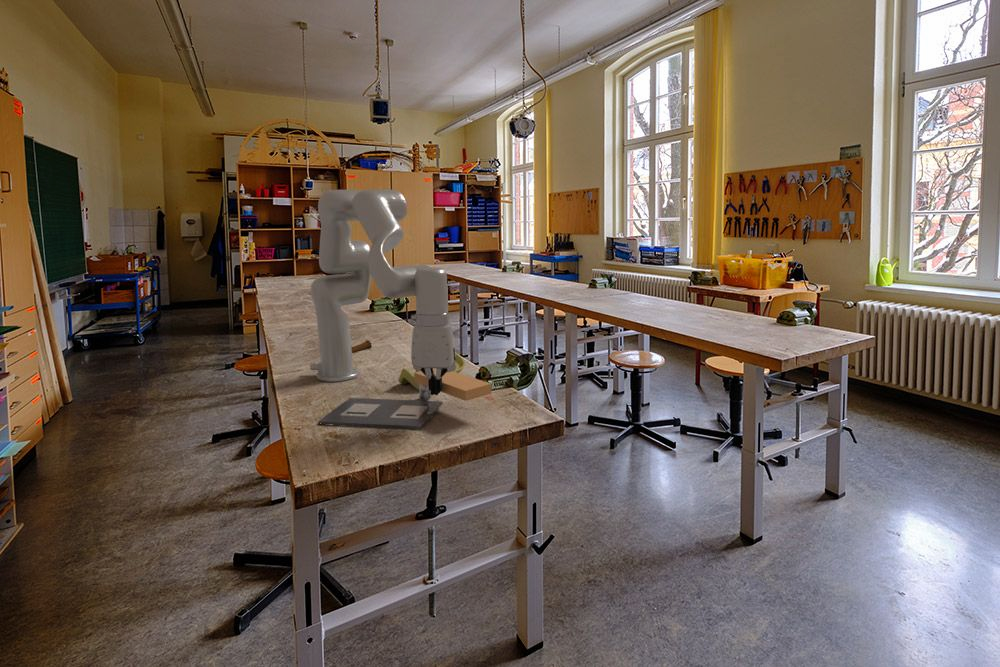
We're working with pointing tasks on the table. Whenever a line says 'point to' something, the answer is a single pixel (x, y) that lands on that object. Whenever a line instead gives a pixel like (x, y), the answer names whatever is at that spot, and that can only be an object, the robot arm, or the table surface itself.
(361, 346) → the primitive tool
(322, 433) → the table surface
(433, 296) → the robot arm
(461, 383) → the orange rectangular block
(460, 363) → the plastic component
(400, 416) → the label plate
